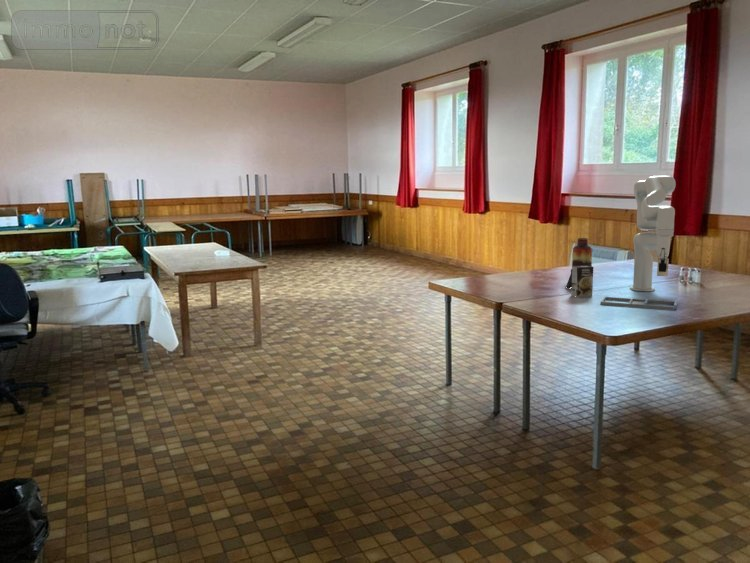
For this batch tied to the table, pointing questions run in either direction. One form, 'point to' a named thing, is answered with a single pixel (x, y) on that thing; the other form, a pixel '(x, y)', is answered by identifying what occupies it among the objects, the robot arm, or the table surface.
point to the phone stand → (569, 281)
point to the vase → (582, 253)
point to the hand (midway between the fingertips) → (662, 270)
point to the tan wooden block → (666, 268)
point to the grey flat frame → (639, 303)
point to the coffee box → (582, 281)
